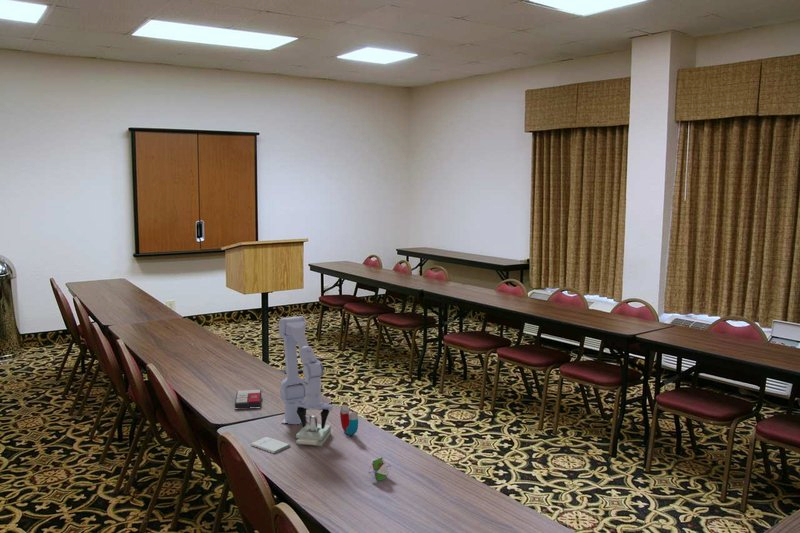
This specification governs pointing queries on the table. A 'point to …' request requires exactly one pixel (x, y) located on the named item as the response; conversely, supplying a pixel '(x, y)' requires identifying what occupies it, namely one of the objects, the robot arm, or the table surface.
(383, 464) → the geometric puzzle
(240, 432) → the table surface
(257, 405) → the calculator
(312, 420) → the pin
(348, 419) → the magnet
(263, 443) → the external hard drive
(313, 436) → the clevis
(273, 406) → the table surface
